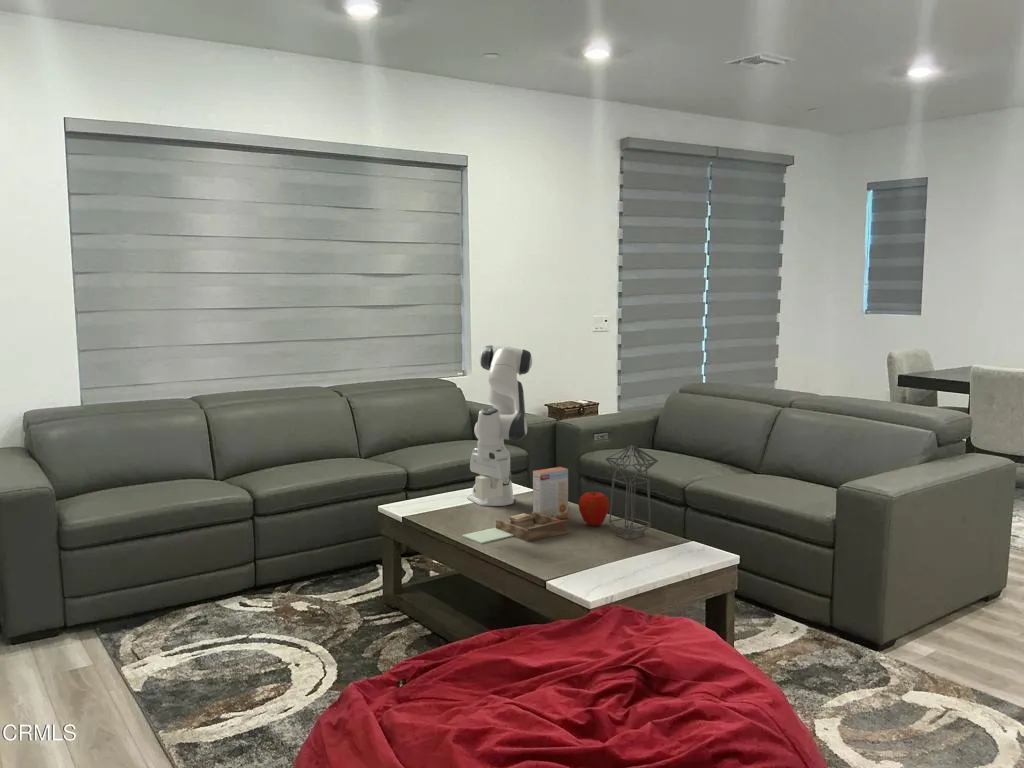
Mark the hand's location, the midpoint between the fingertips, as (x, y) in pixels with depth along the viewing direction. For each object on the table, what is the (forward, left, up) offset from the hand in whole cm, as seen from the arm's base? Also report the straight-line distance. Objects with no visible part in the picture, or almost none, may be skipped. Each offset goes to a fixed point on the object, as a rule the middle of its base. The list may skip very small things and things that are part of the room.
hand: (489, 487), depth 327 cm
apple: (+14, +42, -19) cm, 48 cm away
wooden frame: (+5, +17, -19) cm, 26 cm away
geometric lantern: (+33, +43, -19) cm, 58 cm away
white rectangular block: (0, 0, -4) cm, 4 cm away
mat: (0, 0, -19) cm, 19 cm away
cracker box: (-3, +34, -19) cm, 39 cm away
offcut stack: (-1, +17, -19) cm, 26 cm away
